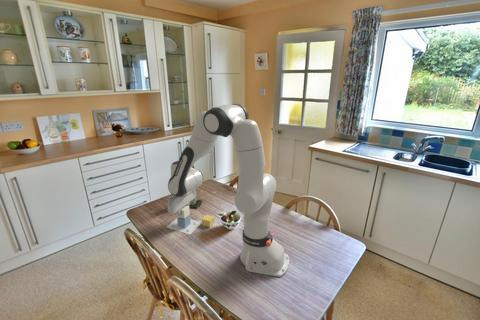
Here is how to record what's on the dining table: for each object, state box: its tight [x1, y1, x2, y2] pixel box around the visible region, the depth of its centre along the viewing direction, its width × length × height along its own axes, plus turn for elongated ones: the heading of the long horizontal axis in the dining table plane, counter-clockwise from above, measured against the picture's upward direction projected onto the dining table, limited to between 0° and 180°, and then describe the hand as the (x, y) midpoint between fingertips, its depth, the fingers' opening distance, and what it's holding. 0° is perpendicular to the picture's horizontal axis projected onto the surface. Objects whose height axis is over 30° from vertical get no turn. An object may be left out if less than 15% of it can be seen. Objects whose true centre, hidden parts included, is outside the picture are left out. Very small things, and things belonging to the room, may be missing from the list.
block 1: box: [176, 205, 191, 219], centre depth 131 cm, size 5×5×5 cm
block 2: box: [176, 214, 191, 228], centre depth 133 cm, size 5×5×5 cm
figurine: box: [189, 163, 203, 210], centre depth 151 cm, size 10×10×30 cm
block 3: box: [201, 214, 216, 228], centre depth 134 cm, size 5×5×5 cm
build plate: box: [166, 218, 202, 235], centre depth 134 cm, size 16×12×1 cm
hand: (183, 212), depth 131 cm, fingers closed on block 1, 5 cm apart
